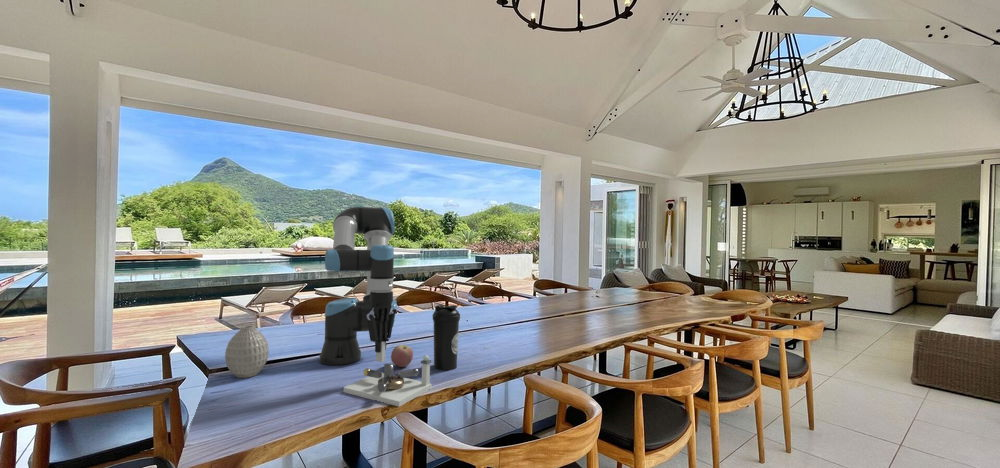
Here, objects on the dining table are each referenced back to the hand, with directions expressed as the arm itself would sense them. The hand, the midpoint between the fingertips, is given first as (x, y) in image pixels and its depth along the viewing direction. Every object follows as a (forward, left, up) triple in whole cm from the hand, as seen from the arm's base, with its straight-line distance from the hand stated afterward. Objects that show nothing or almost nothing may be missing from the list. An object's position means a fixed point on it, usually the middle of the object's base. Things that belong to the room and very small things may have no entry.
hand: (380, 361), depth 141 cm
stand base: (+8, -5, -7) cm, 11 cm away
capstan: (+5, -5, -5) cm, 9 cm away
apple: (-3, +15, -7) cm, 17 cm away
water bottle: (+11, +23, -7) cm, 27 cm away
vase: (-43, -18, -7) cm, 47 cm away
